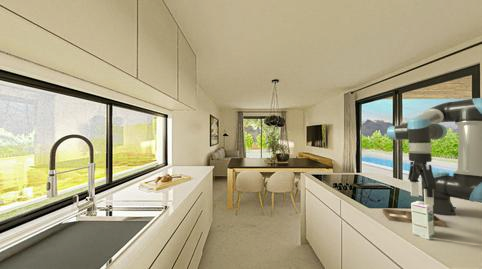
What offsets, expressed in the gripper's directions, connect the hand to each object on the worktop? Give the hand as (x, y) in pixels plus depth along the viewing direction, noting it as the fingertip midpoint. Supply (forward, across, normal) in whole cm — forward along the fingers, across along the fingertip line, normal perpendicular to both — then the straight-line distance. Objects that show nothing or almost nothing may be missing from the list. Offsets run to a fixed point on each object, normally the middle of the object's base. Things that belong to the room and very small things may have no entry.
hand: (421, 200), depth 86 cm
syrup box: (+16, 0, 0) cm, 16 cm away
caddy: (+16, -18, +2) cm, 24 cm away
